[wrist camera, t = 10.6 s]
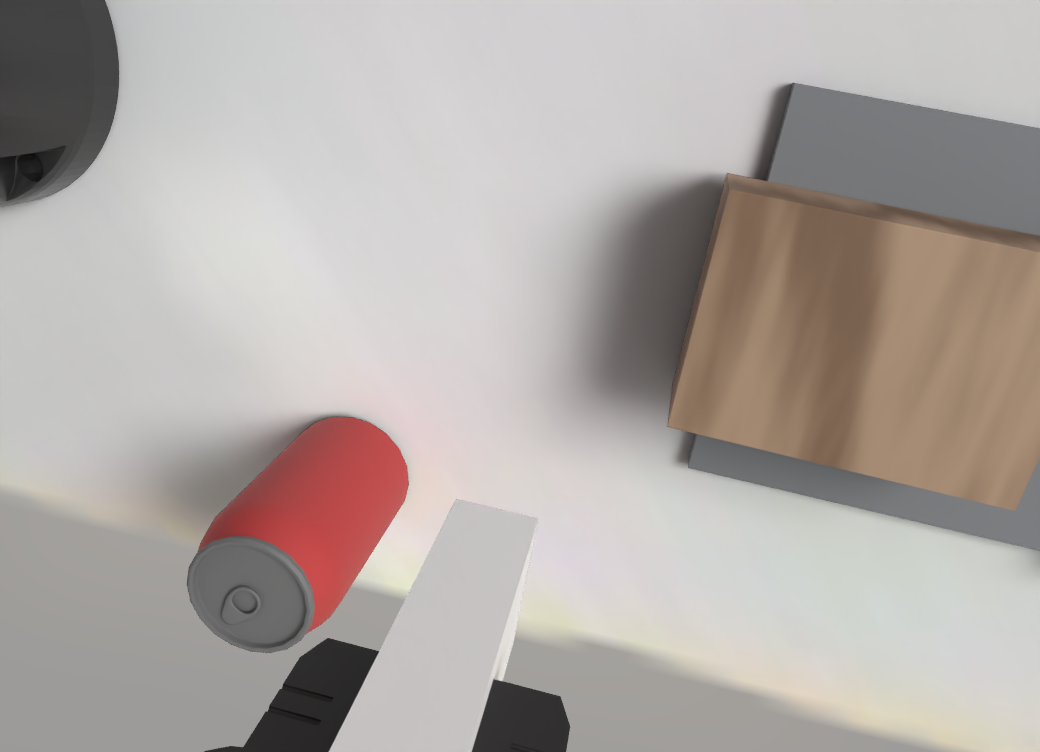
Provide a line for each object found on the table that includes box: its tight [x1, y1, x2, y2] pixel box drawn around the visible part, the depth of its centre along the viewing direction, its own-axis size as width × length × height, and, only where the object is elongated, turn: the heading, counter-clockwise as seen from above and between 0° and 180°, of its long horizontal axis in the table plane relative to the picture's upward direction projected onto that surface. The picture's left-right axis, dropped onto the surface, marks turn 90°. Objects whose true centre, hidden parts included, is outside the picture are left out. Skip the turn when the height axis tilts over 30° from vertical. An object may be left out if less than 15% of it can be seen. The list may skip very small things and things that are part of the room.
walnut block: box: [667, 173, 1040, 511], centre depth 35 cm, size 5×10×14 cm
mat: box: [688, 83, 1040, 551], centre depth 37 cm, size 20×18×2 cm
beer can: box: [187, 417, 409, 653], centre depth 40 cm, size 7×7×12 cm
